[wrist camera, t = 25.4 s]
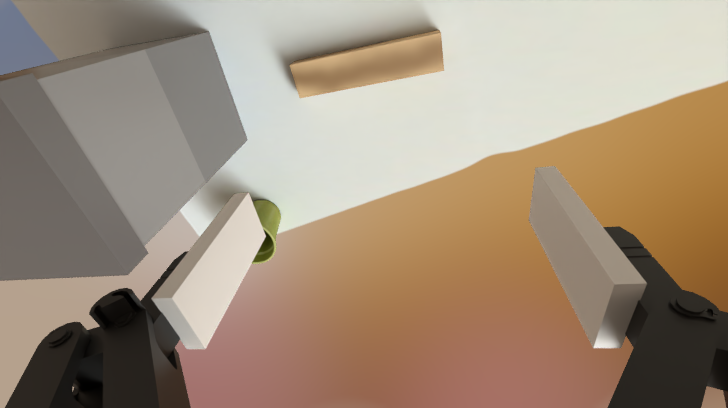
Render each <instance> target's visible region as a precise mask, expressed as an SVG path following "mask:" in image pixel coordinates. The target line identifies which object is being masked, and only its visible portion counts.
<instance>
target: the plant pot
mask: <svg viewBox="0 0 728 408" xmlns="http://www.w3.org/2000/svg"><path fill="white" fill-rule="evenodd" d="M253 205H254V207H255V210H256V212H257V215H258V218H259V220H260V223H261V225H262V228H263V230H264V233H265V235H266V237H265V239H264V241H263V243H262V245H261V247H260V248H259V250H258V252H257V254H256V256H255V258H254V260H253V261H252V264H258V263H259V264H260V263H264V262H267V261H268V260H270V259H271V258H272V257H273V256H274V254H275V251H276V234H277V231H278V227H279V223H280V220H281V215H280V211H279V209H278V207H277V206H276V205H274V204H273V203H271V202H269V201H267V200H256V201H254V202H253Z"/></svg>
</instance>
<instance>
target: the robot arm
mask: <svg viewBox="0 0 728 408" xmlns="http://www.w3.org/2000/svg"><path fill="white" fill-rule="evenodd" d="M529 221H530V223H531V225H532V227H533V229H534V231H535V233H536V235H537V237H538V239H539V241H540V243H541V245H542V247H543V249H544V251H545V253H546V255H547V257H548V259H549V261H550V263H551V265H552V267H553V269H554V271H555V273H556V275H557V277H558V279H559V281H560V283H561V285H562V287H563V289H564V291H565V293H566V295H567V297H568V299H569V301H570V303H571V305H572V307H573V309H574V311H575V313H576V315H577V317H578V318H579V320H580V323H581V325H582V327H583V328H584V331H585V332H586V334H587V336H588V339H589V340H590V342H591V344H592V346H593V348H621V347H622V344H623V342H624V339H625V337H626V336H627V338H628V339H629V341H630V342H631V344H632V346H633V347H634V349H633V351H632V353H631V355H630V358H629V360H628V362H627V365H626V367H625V369H624V371H623V374H622V376H621V378H620V381H619V383H618V385H617V388H616V390H615V392H614V394H613V397H612V399H611V401H610V404H609V406H608V408H701V406H702V402H703V398H704V394H705V390H706V386H709V387H713V388H717V389H720V390H723V392H724V397H725V402H726V407H727V408H728V313H727V312H723V311H719V309H718V308H717V307H716V306H715V305H714V304H713V303H711V302H710V301H709V300H707V299H706V298H704V297H701V296H699V295H697V294H695V293H693V292H689V291H685V290H682V289H681V288H680V287H679V286H678V285H677V284H676V282H675V281H674V280H673V279H672V278H671V277H670V275H669V274H668V273H667V272H666V271H665V270H664V269H663V267H662V266H661V265H660V264H659V263H658V262H657V261H656V260H655V259H654V258H653V257H652V255H651V254H650V253H649V252H648V250H647V249H645V248H644V246H643V245H642V244H641V243H640V242H639V240H638V239H637V238H636V237H635V236H634V235H633V234H631V233H629V232H627V231H626V230H624V229H623V228H621V227H602V225H601V224H600V223H599V222H598V220H597V219H596V218H595V216H594V215H593V214H592V213H591V211H590V210H589V209H588V208H587V206H586V205H585V204H584V203H583V201H582V200H581V199H580V197H579V196H578V195H577V193H576V192H575V191H574V190H573V188H572V187H571V186H570V185H569V183H568V182H567V181H566V179H565V178H564V177H563V176H562V174H561V173H560V172H559V171H558V169H557V168H556V167H555V166H551V167H540V168H535V177H534V185H533V192H532V200H531V208H530V216H529ZM265 237H266V235H265V233H264V230H263V228H262V225H261V223H260V220H259V218H258V215H257V212H256V210H255V207H254V205H253V202H252V200H251V197H250V195H249V192H247V193H235V194H234V195H233V196H232V197H231V198H230V200H229V201H228V202H227V203H226V205H225V206H224V207H223V208H222V210H221V211H220V212H219V214H218V215H217V216H216V217H215V219H214V220H213V221H212V222H211V224H210V225H209V226H208V227H207V229H206V230H205V231H204V233H203V234H202V235H201V236H200V238H199V239H198V240H197V242H196V243H195V244H194V245H193V247H192V248H191V249H190V250H189V251H188V252H184V253H183V254H182V255H180V256H179V257H178V258H176V259H175V260H174V261H173V262H172V263H171V265H170V266H169V267H168V268H167V271H165V272H164V273H163V275H162V276H161V278H160V279H158V281H157V282H156V283H155V284H154V285H153V287H152V288H151V289H150V290H149V292H148V293H147V294H146V295H145V296H144V298H143V299H142V300H141V301H140V300H139V299H138V298H137V296H136V295H135V294H134V292H133V291H132V290H131V289H128V288H123V289H118V290H115V291H112V292H110V293H109V294H107V295H105V296H103V297H102V298H101V299H100V300H98V301H97V302H96V303H95V304H94V305H93V307H92V308H91V310H90V315H91V316H92V317H93V319H94V320H95V321H96V322H97V323H98V324H99V325H100V327H97V328H93V329H90V330H86V328H84V326H83V325H82V324H81V323H80V322H72V323H67V324H65V325H63V326H61V327H59V328H57V329H55V330H53V331H52V332H51V333H49V334H48V336H46V337H45V338H44V339H43V340H42V342H41V343H40V344H39V345H38V347H37V349H36V351H35V353H34V355H33V356H32V358H31V360H30V362H29V364H28V366H27V368H26V370H25V371H24V373H23V375H22V377H21V379H20V381H19V383H18V384H17V386H16V388H15V390H14V392H13V394H12V396H11V397H10V399H9V401H8V403H7V405H6V407H5V408H191V407H190V403H189V398H188V394H187V390H186V385H185V380H184V376H183V372H182V367H181V363H180V358H179V354H178V352H177V351H176V349H175V346H176V345H177V343H178V341H179V340H181V341H182V343H183V344H184V345H185V347H186V348H187V349H206V347H207V345H208V343H209V341H210V340H211V338H212V336H213V334H214V332H215V330H216V328H217V327H218V324H219V323H220V321H221V319H222V317H223V315H224V314H225V312H226V310H227V308H228V306H229V304H230V302H231V301H232V299H233V297H234V295H235V293H236V291H237V289H238V288H239V285H240V284H241V282H242V280H243V278H244V276H245V274H246V273H247V271H248V269H249V267H250V265H251V263H252V261H253V260H254V258H255V256H256V254H257V252H258V250H259V248H260V247H261V245H262V243H263V241H264V239H265ZM72 387H74V390H73V392H72Z"/></svg>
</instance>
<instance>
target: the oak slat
mask: <svg viewBox="0 0 728 408" xmlns="http://www.w3.org/2000/svg"><path fill="white" fill-rule="evenodd" d="M290 68H291V72H292V75H293V78H294V81H295V84H296V88H297V91H298V94H299V97H300V98H304V97H309V96H314V95H319V94H325V93H330V92H335V91H340V90H345V89H351V88H356V87H361V86H366V85H371V84H377V83H382V82H387V81H392V80H397V79H403V78H408V77H413V76H418V75H423V74H429V73H434V72H439V71H444V65H443V53H442V41H441V32H440V31H439V30H437V31H432V32H428V33H423V34H418V35H414V36H409V37H404V38H400V39H395V40H390V41H386V42H381V43H377V44H372V45H367V46H363V47H358V48H353V49H349V50H344V51H340V52H335V53H330V54H326V55H321V56H316V57H312V58H307V59H302V60H298V61H294V62H293V63H292V64H291V65H290Z"/></svg>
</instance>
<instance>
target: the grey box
mask: <svg viewBox="0 0 728 408" xmlns="http://www.w3.org/2000/svg"><path fill="white" fill-rule="evenodd" d="M246 141H247V137H246V134H245V131H244V128H243V126H242V123H241V120H240V117H239V115H238V112H237V109H236V106H235V103H234V101H233V98H232V95H231V92H230V89H229V87H228V84H227V81H226V78H225V75H224V73H223V70H222V67H221V64H220V61H219V59H218V56H217V53H216V50H215V47H214V45H213V42H212V39H211V36H210V33H209V32H204V33H198V34H192V35H187V36H181V37H175V38H169V39H163V40H158V41H152V42H146V43H140V44H135V45H129V46H123V47H117V48H112V49H107V50H103V51H99V52H94V53H90V54H86V55H82V56H78V57H74V58H70V59H66V60H62V61H58V62H53V63H50V64H45V65H41V66H37V67H33V68H29V69H25V70H21V71H16V72H12V73H9V74H4V75H0V281H2V280H3V281H4V280H27V279H49V278H70V277H71V278H73V277H95V276H119V275H128V274H129V273H130V272H131V271H132V270H133V269H134V268H135V267H136V266H137V265H138V264H139V262H140V261H141V260H142V259H143V258H144V257H145V256H146V255H147V254H148V252H147V250H146V249H145V247H144V246H145V245H146V244H147V243H148V242H149V241H150V240H151V239H152V238H153V237H154V236H155V235H156V234H157V233H158V231H160V230H161V229H162V228H163V226H164V225H165V224H166V223H167V222H168V221H169V220H170V219H171V218H172V217H173V216H174V215H175V214H176V213H177V212H178V211H179V210H180V209H181V208H182V207H183V206H184V205H185V204H186V203H187V202H188V201H189V200H190V199H191V198H192V197H193V196H194V195H195V194H196V193H197V192H198V190H199V189H200V188H201V187H202V186H203V185H204V184H205V183H206V182H207V181H208V180H209V179H210V178H211V177H212V176H213V175H214V174H215V173H216V172H217V171H218V170H219V169H220V168H221V167H222V166H223V165H224V164H225V163H226V162H227V161H228V160H229V159H230V158H231V156H232V155H233V154H234V153H235V152H236V151H237V150H238V149H239V148H240V147H241V146H242V145H243V144H244V143H245V142H246Z"/></svg>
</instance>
